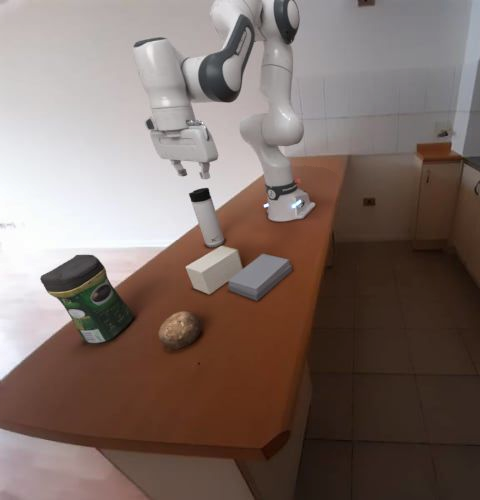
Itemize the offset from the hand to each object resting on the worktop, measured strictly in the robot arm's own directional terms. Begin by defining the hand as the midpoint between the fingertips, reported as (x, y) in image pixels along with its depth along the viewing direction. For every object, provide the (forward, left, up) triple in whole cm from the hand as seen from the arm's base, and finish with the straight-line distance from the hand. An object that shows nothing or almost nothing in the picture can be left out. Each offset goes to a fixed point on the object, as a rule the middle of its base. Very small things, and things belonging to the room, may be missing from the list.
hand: (194, 177), depth 74 cm
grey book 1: (+2, +19, -25) cm, 32 cm away
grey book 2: (+2, +19, -27) cm, 33 cm away
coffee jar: (+32, -1, -27) cm, 42 cm away
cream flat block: (+7, +7, -22) cm, 24 cm away
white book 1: (+7, +7, -25) cm, 26 cm away
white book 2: (+7, +7, -27) cm, 29 cm away
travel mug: (-8, -12, -27) cm, 31 cm away
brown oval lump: (+26, +18, -27) cm, 42 cm away
